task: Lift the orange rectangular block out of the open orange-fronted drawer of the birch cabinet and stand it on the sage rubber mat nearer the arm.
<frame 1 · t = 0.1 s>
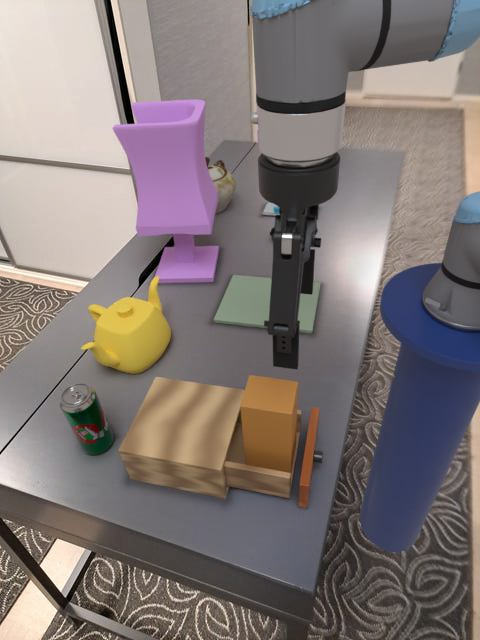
hand: (294, 325, 54), 23 cm above the table, tool pointing down, fingers open, 13 cm apart
teapot: (131, 348, 86), on the table
drawer: (270, 448, 63), point 4 cm above the table, slide at 10.0 cm, touching orange rectangular block
sugar bowl: (211, 208, 129), on the table
vase: (188, 266, 107), on the table
mat: (269, 303, 94), on the table
smartphone: (289, 212, 124), on the table
soda can: (99, 443, 70), on the table
cabinet: (192, 448, 68), on the table
orange rectangular block: (271, 455, 64), point 2 cm above the table, touching drawer
tape measure: (285, 238, 114), on the table
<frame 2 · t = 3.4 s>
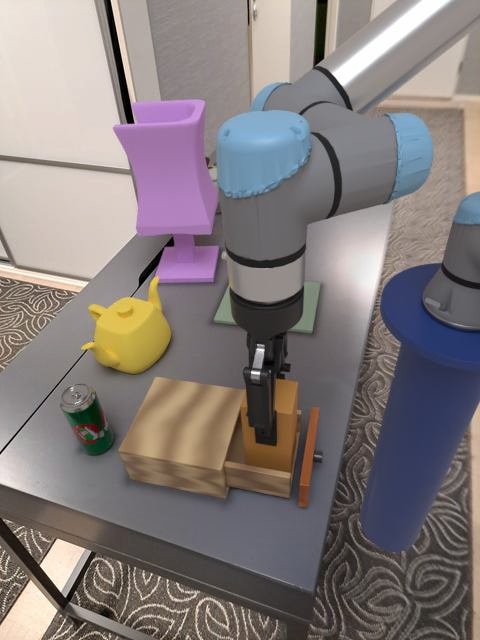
hand: (270, 423, 59), 10 cm above the table, tool pointing down, fingers closed on orange rectangular block, 5 cm apart
orange rectangular block: (271, 455, 64), point 2 cm above the table, touching drawer, gripper
everything else where it was.
when the fingers open (9 cm above the table, at t = 12.5 s): orange rectangular block stays where it is, resting on mat.
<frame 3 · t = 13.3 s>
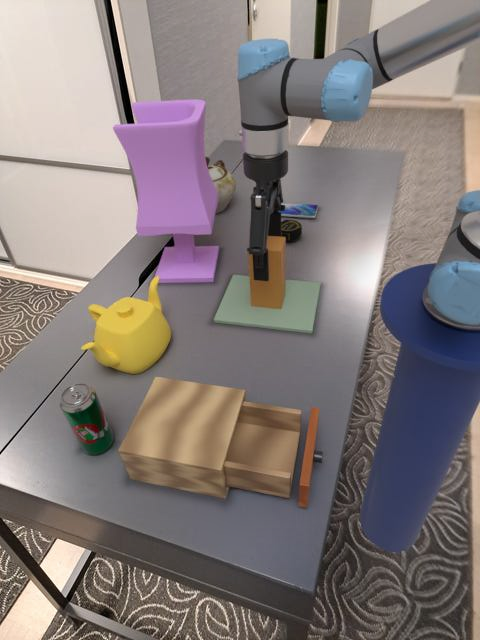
hand: (268, 259, 87), 11 cm above the table, tool pointing down, fingers open, 13 cm apart
drawer: (270, 448, 63), point 4 cm above the table, slide at 10.0 cm
orange rectangular block: (268, 300, 93), point 1 cm above the table, touching mat
everything else where it was.
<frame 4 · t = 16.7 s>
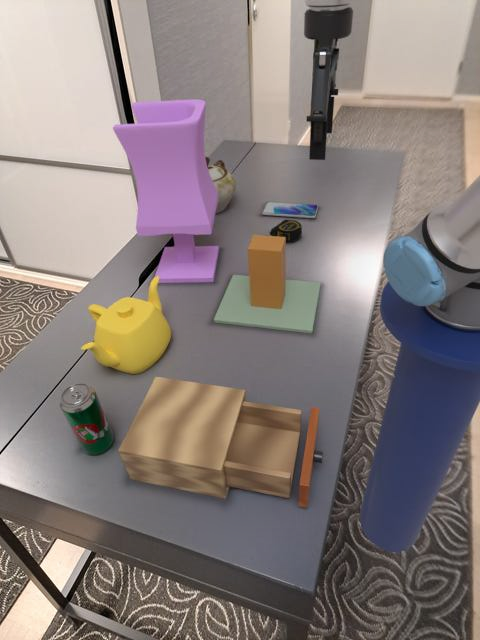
hand: (321, 145, 83), 29 cm above the table, tool pointing down, fingers open, 13 cm apart
nothing on the table moved.
at the end: orange rectangular block inside the target area on the mat (0.2 cm from its centre), point 0.8 cm above the mat's base; orange rectangular block tilted 0°; the gripper is holding nothing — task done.
